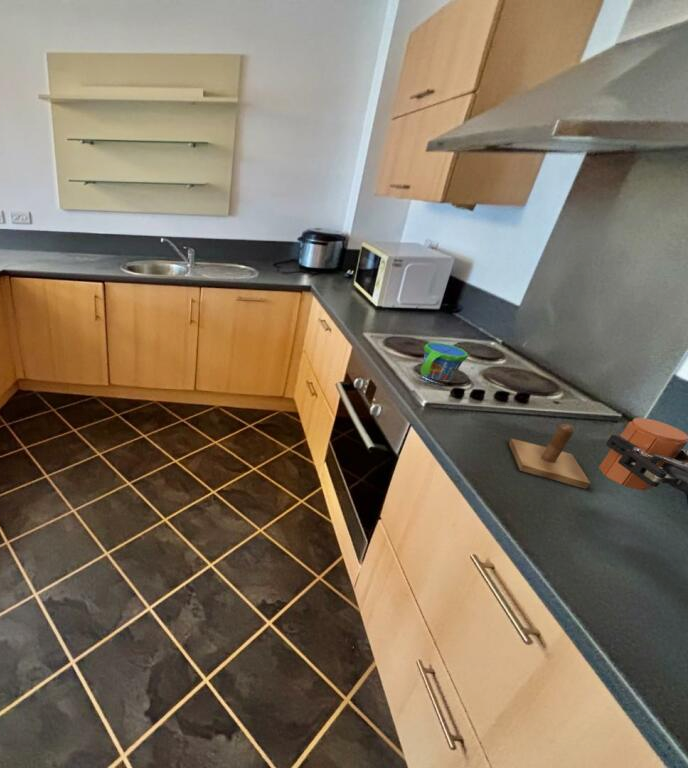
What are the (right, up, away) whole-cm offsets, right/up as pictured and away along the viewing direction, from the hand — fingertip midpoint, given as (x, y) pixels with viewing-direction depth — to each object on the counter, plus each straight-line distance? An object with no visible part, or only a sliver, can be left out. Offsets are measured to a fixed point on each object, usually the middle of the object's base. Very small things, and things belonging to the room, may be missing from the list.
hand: (631, 440), depth 69 cm
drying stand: (+2, -8, +18) cm, 20 cm away
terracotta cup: (0, -6, +1) cm, 6 cm away
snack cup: (0, +10, +53) cm, 54 cm away
